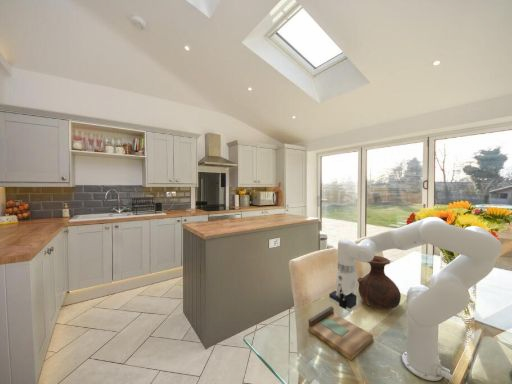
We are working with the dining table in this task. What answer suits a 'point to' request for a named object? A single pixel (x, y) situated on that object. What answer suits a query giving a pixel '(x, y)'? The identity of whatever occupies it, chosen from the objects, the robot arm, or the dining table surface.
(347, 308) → the black block white base
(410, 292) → the robot arm
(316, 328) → the sharpening stone holder
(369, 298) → the jug
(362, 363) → the dining table surface
